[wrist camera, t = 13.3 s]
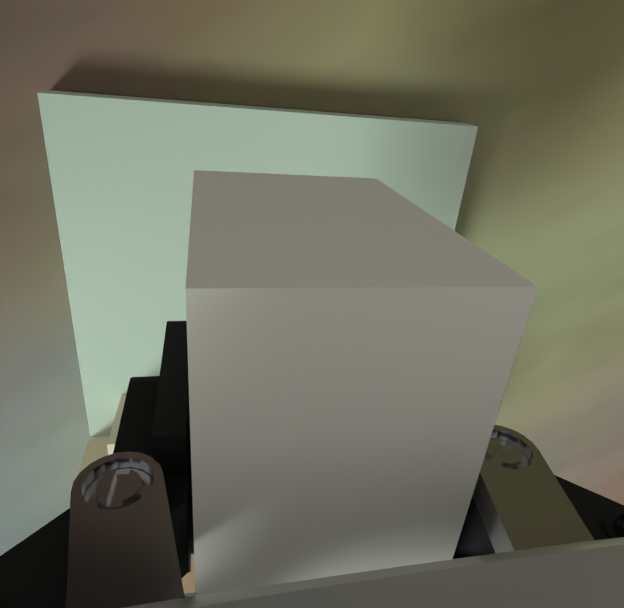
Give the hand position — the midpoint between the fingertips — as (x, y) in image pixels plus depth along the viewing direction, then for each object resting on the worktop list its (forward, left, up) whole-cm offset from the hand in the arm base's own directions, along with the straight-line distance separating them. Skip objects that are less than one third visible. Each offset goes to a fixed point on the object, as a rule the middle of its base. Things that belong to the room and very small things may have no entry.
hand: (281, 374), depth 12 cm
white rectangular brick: (0, 0, -1) cm, 1 cm away
